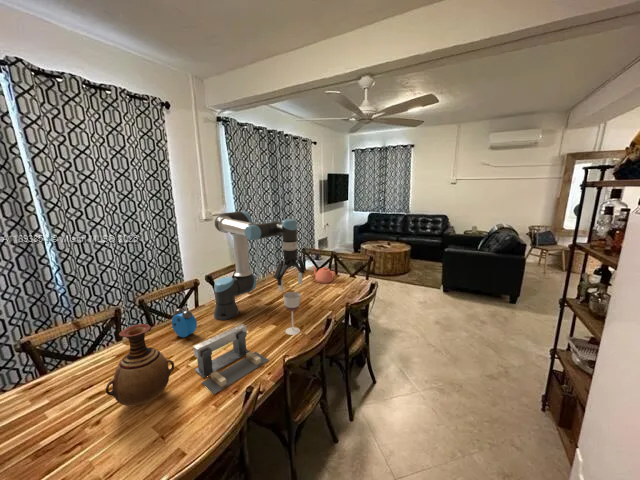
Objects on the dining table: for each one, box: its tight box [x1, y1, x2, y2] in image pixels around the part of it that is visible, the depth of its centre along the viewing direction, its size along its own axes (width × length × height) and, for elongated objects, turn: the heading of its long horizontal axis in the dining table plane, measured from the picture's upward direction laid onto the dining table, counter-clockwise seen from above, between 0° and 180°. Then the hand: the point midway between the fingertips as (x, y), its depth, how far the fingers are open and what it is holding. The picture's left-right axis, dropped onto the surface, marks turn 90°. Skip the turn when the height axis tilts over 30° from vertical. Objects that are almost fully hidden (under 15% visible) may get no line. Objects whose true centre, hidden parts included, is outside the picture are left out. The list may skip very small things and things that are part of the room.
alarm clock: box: [171, 308, 198, 338], centre depth 150 cm, size 13×6×15 cm, turn 65°
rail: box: [192, 323, 248, 359], centre depth 127 cm, size 25×4×4 cm, turn 140°
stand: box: [194, 332, 250, 379], centre depth 128 cm, size 8×24×12 cm, turn 140°
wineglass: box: [282, 291, 302, 336], centre depth 154 cm, size 9×10×22 cm
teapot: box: [312, 265, 336, 284], centre depth 233 cm, size 22×15×12 cm
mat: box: [201, 351, 270, 395], centre depth 123 cm, size 10×28×1 cm, turn 140°
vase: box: [105, 323, 175, 407], centre depth 104 cm, size 21×18×30 cm
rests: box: [210, 350, 261, 388], centre depth 122 cm, size 8×20×3 cm, turn 140°
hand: (290, 287), depth 148 cm, fingers open, 13 cm apart
